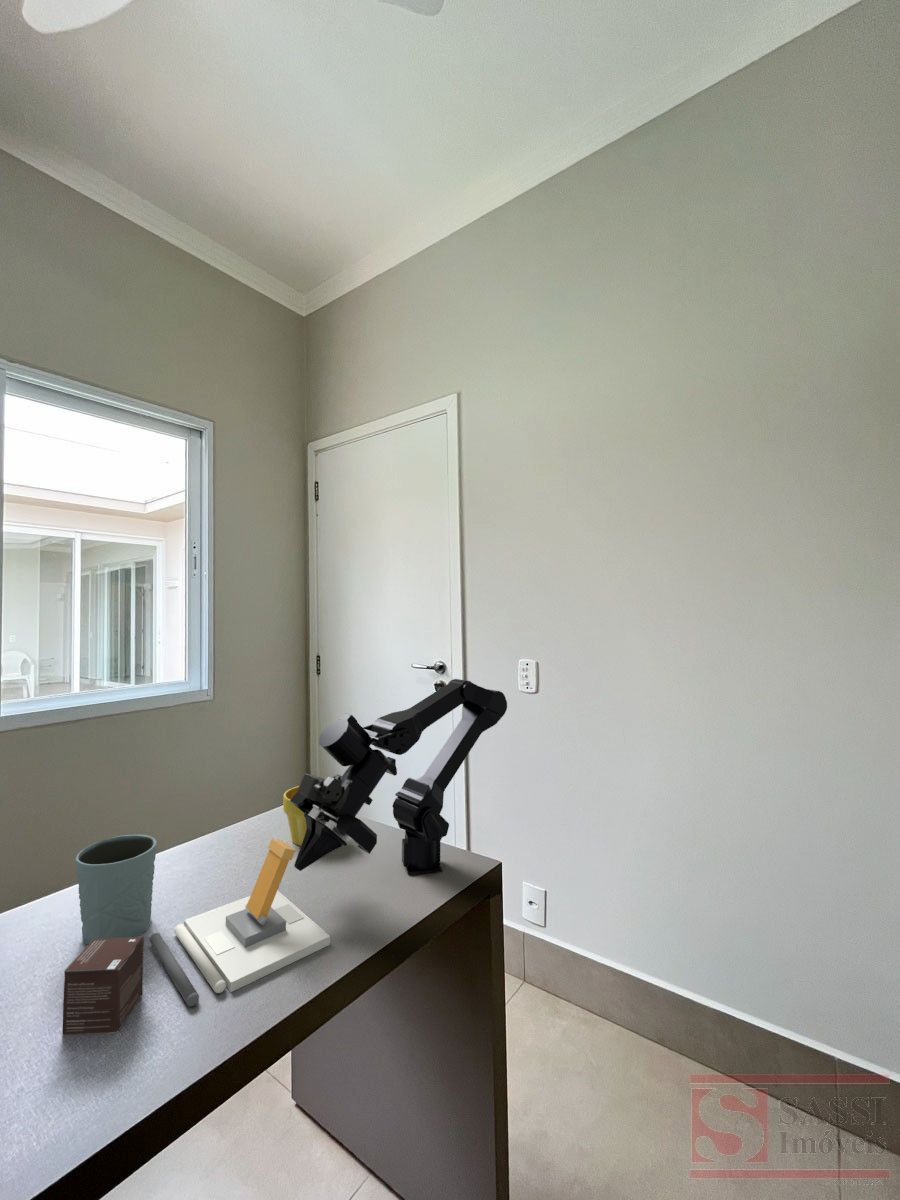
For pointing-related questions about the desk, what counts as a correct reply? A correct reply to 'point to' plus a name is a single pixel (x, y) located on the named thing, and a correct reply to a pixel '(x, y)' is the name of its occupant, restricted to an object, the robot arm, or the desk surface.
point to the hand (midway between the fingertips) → (297, 868)
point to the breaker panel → (254, 939)
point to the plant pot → (294, 817)
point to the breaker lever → (269, 880)
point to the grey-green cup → (116, 886)
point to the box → (103, 986)
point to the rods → (178, 973)
